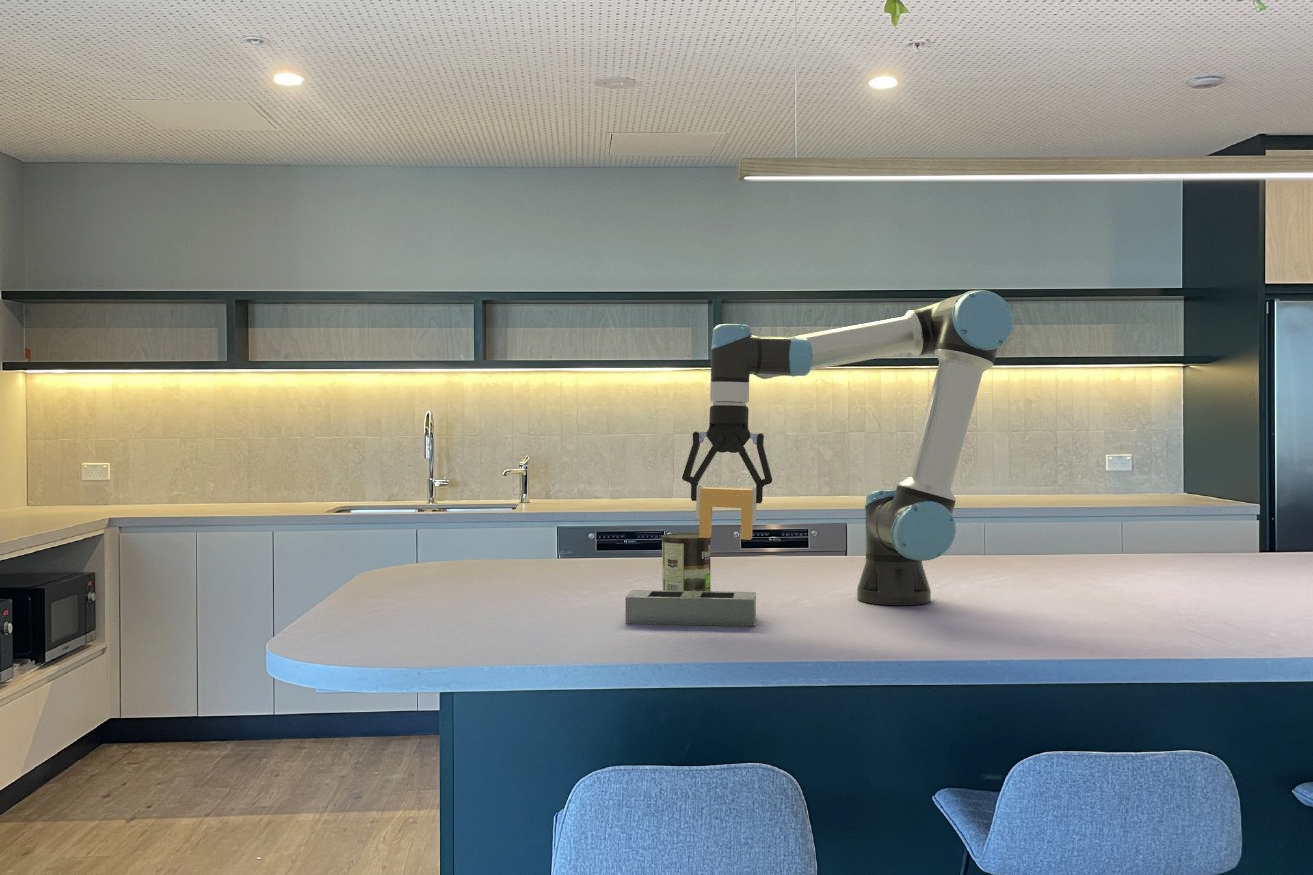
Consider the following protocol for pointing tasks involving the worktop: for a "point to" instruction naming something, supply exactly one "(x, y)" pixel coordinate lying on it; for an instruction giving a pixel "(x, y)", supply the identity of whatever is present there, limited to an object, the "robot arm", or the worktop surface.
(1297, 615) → the worktop surface
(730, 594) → the gray slotted block
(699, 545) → the coffee can
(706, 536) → the clip
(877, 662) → the worktop surface
